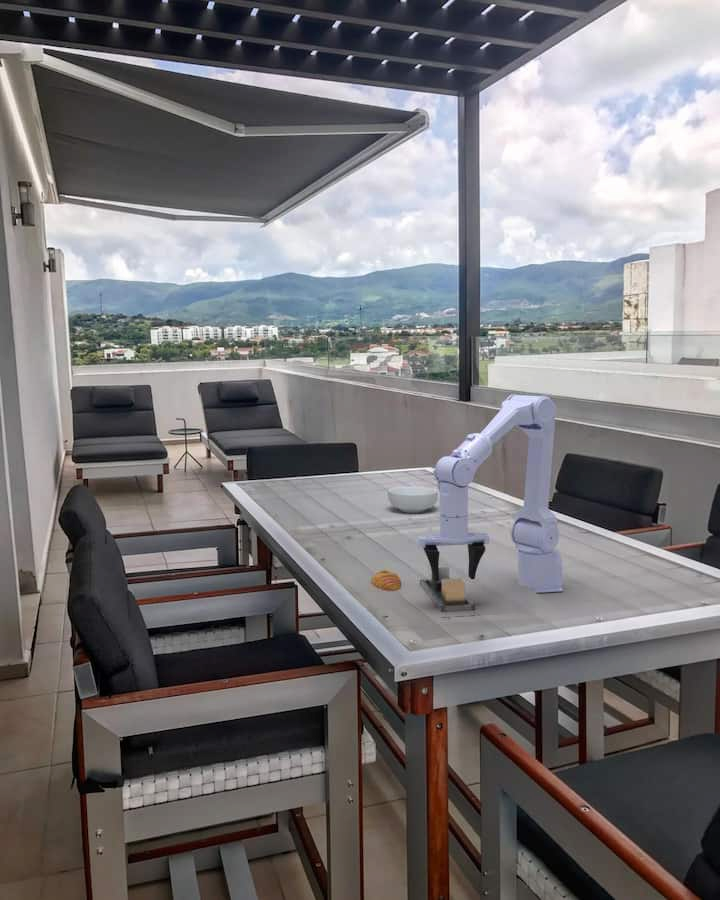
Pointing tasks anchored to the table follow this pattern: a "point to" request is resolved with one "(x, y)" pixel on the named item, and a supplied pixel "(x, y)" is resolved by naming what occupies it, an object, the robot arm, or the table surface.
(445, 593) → the wooden block with cap
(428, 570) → the steel block
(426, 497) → the cereal bowl
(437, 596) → the tray
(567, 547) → the table surface
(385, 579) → the pastry
